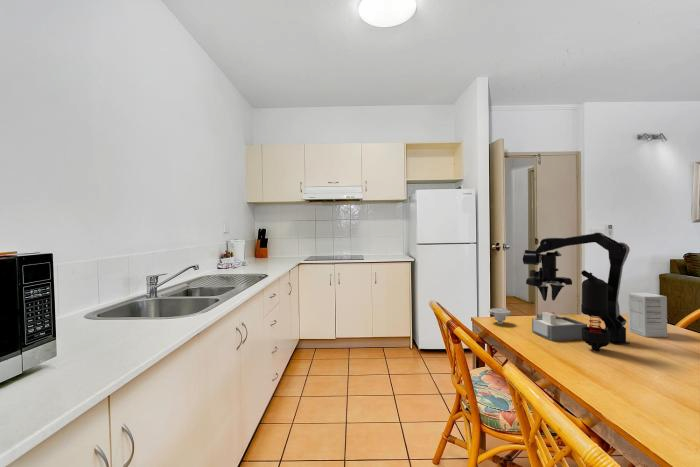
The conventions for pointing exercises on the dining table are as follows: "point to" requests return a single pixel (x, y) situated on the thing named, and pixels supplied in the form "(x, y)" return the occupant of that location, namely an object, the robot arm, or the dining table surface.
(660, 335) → the supplement box
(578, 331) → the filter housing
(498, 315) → the showerhead
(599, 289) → the black tall rounded body
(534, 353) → the dining table surface
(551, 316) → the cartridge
